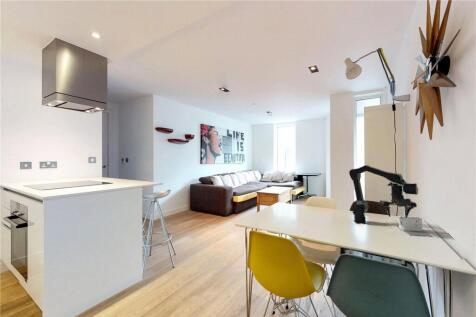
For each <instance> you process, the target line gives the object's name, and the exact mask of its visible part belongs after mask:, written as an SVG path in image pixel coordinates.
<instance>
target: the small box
mask: <svg viewBox="0 0 476 317" xmlns="http://www.w3.org/2000/svg"><path fill="white" fill-rule="evenodd" d="M398 226H399V228H398V229H400V228H401V229H402V231H403V230H406V231H423V219H422V218H421V217H420V216H410V215H408V216H407V218H406V217H405V215H399V216H398ZM401 229H400V230H401Z"/></svg>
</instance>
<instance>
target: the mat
mask: <svg viewBox="0 0 476 317" xmlns="http://www.w3.org/2000/svg"><path fill="white" fill-rule="evenodd" d="M395 227H396V228H398V229H400V230H402V229H401V228H399V225H398V224H397V225H396V226H395ZM402 231H403V232H404V233H406V234H407V235H409V236H414V237H416V236H417V237H427V236H428V237H430V238H433V236H432V235H431V234H429V233H427V232H426V231H424V230H422V231H406V230H402Z"/></svg>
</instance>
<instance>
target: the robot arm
mask: <svg viewBox="0 0 476 317" xmlns="http://www.w3.org/2000/svg"><path fill="white" fill-rule="evenodd" d="M366 172H368V173H371V174H374V175H376V176H380V177H382V178H384V179H386V180H388V182H389V183H388V184H387V186H389V187H391V189H390V190H391V193H390V196H391V200H390V201H388V200H383V199H382V200H379V202H378V203H379V205H380V206H381V207H383V208H384V210H385V211H386V214H387V216H388V217H389V218H390V217H391V207H390V206H397V207H399V208H401V207H403V208H404V216H405V217H406V218H407V216H409V213H410V212H411V210H413V209H415V208H417V206H418V205H417V203H416V202H414V201H412V200H411V198H405V196H404V195H403V193H404V194H406V195H413V196H414V195H415V196H418V195H419V187H418V183H416V182H415V183H414V182H413V183H409V182H407V181H406V180H404V177H403V175H402V174H400V173H397V172H390V171H386V170H383V169H380V168H377V167H373V166H370V165H369V164H367V165H362V166H360V167H358V168H351V169H350V170H349V172H348V175H349V176H350V179H351V181H352V183H353V189H354V193H355V197H356V204H355V209H354V210H353V211H352V213H353V222H354V223H355V224H361V225H362V224H365V225H366V224H367V222H366V221H367V220H366V219H367V218H366V216H365V214H366V212H368V211H369V208H370V206H369V203H368V201H365V199H364V194H363V189H362V183H361V178H362V173H363V174H364V173H366Z"/></svg>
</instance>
